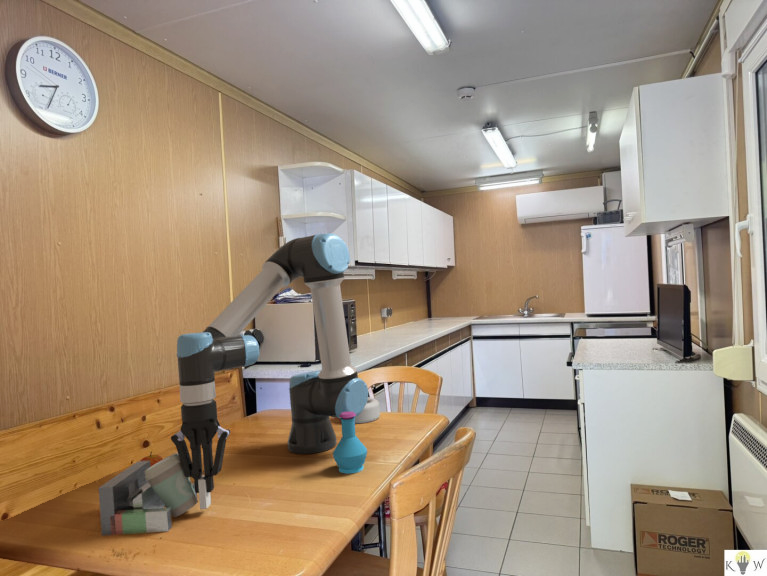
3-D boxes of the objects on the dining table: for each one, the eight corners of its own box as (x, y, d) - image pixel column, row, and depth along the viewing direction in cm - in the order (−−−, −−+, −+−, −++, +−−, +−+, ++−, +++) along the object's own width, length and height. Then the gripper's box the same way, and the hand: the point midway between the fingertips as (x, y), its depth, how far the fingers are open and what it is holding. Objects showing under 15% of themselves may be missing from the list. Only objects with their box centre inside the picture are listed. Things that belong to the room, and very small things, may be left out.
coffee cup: (190, 511, 107) (163, 462, 107) (159, 526, 108) (133, 478, 108) (210, 492, 115) (186, 446, 115) (182, 506, 117) (158, 461, 117)
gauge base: (197, 499, 120) (195, 457, 120) (167, 531, 104) (164, 483, 104) (140, 502, 120) (137, 461, 120) (101, 535, 104) (98, 487, 104)
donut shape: (342, 426, 176) (341, 407, 176) (337, 416, 191) (336, 399, 191) (383, 421, 179) (382, 403, 179) (376, 412, 194) (375, 395, 194)
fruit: (147, 488, 129) (145, 457, 129) (132, 484, 133) (130, 454, 133) (171, 478, 135) (169, 449, 135) (156, 475, 139) (154, 446, 139)
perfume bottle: (373, 463, 136) (369, 409, 136) (360, 476, 127) (356, 417, 127) (342, 462, 139) (338, 408, 139) (328, 474, 130) (324, 417, 130)
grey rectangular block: (167, 503, 118) (165, 472, 118) (136, 532, 103) (134, 497, 104) (129, 506, 118) (127, 475, 118) (93, 535, 104) (91, 500, 104)
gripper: (232, 396, 115) (239, 497, 115) (177, 399, 116) (183, 501, 116) (221, 403, 108) (228, 512, 108) (162, 407, 108) (169, 515, 108)
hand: (205, 506), depth 112 cm, fingers closed
